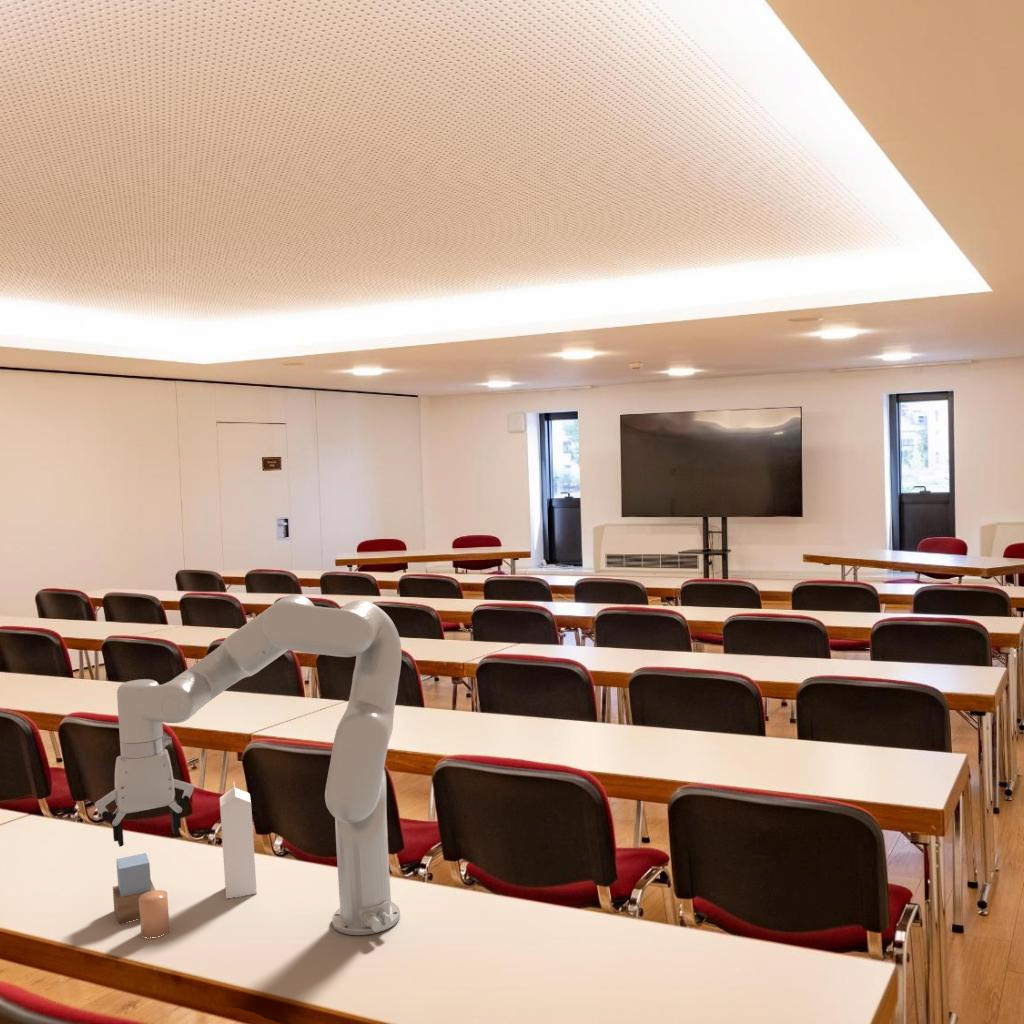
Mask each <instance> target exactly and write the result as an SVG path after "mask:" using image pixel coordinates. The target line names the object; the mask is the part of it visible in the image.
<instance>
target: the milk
mask: <svg viewBox="0 0 1024 1024" xmlns="http://www.w3.org/2000/svg"><path fill="white" fill-rule="evenodd" d="M233 783H235V780H233ZM251 801H252V800H251V794H250V793H249V792H247V791H244V790H241V789H239V788H237V787H235V784H233V787H232V788H231V789H230V790H228V791H227V792H225V793H224V794H223V795H221V796H220V797H219V811H220V812H219V813H220V823H221V825H220V826H221V827H220V828H221V839H222V840H221V841H222V854H223V855H222V857H223V869H224V871H223V872H224V885H225V887H224V888H225V898H226V900H229V899H228V898H230V899H234V898H233V897H235V898H240V897H245V896H246V895H247V896H252V895H251V894H253V895H257V894H258V889H257V876H256V873H257V872H256V862H255V860H256V859H255V846H254V845H255V843H254V831H253V830H254V828H253V827H254V826H253V814H252V812H253V811H252V802H251Z"/></svg>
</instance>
